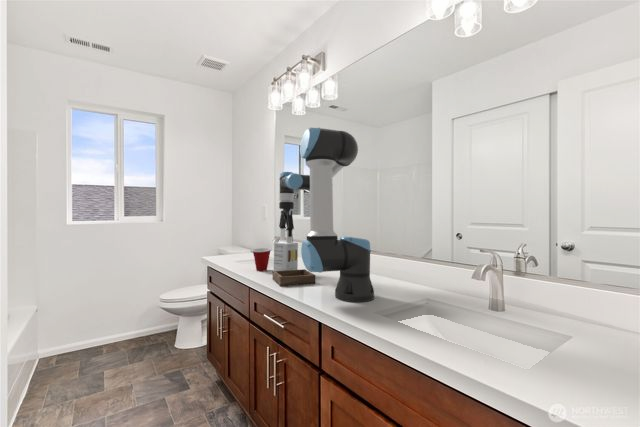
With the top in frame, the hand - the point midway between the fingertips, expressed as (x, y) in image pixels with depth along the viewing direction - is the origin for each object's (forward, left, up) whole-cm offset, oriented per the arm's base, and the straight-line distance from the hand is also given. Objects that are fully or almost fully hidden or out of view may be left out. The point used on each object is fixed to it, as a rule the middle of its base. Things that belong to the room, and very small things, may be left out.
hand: (285, 241), depth 162 cm
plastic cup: (+15, +10, -17) cm, 25 cm away
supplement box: (0, 0, -17) cm, 17 cm away
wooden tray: (-18, +1, -17) cm, 25 cm away
